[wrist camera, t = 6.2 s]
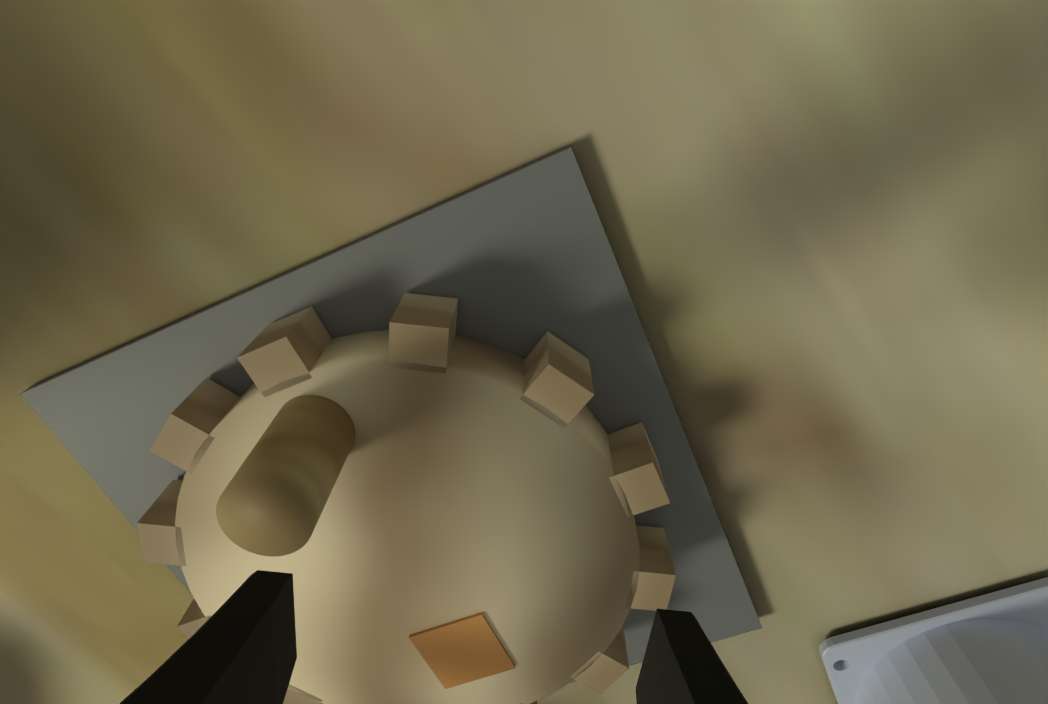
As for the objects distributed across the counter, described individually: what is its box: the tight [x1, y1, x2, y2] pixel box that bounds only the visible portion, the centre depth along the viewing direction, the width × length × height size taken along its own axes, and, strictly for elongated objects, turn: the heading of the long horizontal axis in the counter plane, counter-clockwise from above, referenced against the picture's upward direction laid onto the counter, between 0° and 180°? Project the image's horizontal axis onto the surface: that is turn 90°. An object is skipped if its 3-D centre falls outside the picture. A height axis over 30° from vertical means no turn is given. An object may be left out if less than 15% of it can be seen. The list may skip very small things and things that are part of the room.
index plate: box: [21, 145, 762, 704], centre depth 21 cm, size 17×17×1 cm
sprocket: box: [137, 293, 676, 704], centre depth 18 cm, size 15×15×6 cm
